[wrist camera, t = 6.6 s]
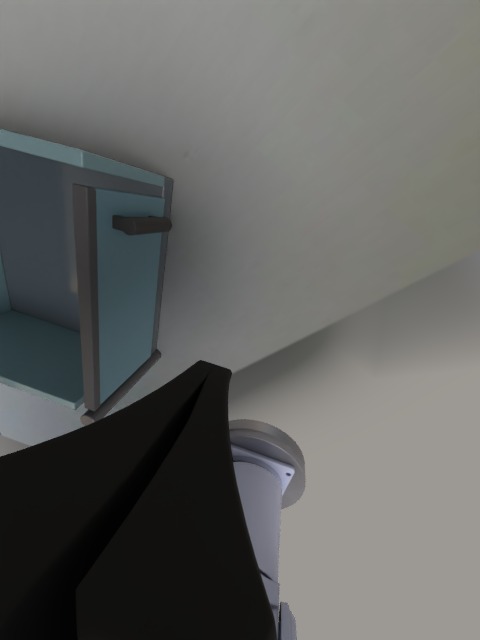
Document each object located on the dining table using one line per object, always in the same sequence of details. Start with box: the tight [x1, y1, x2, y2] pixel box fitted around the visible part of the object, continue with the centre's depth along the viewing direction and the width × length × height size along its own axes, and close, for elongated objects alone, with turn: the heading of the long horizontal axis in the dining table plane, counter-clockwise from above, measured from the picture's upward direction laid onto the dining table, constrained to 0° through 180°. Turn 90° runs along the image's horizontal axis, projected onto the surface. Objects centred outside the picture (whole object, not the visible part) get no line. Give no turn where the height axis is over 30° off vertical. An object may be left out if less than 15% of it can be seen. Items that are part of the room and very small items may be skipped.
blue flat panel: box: [72, 183, 172, 411], centre depth 15 cm, size 12×2×6 cm, turn 166°
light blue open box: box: [0, 129, 173, 426], centre depth 16 cm, size 14×14×8 cm
